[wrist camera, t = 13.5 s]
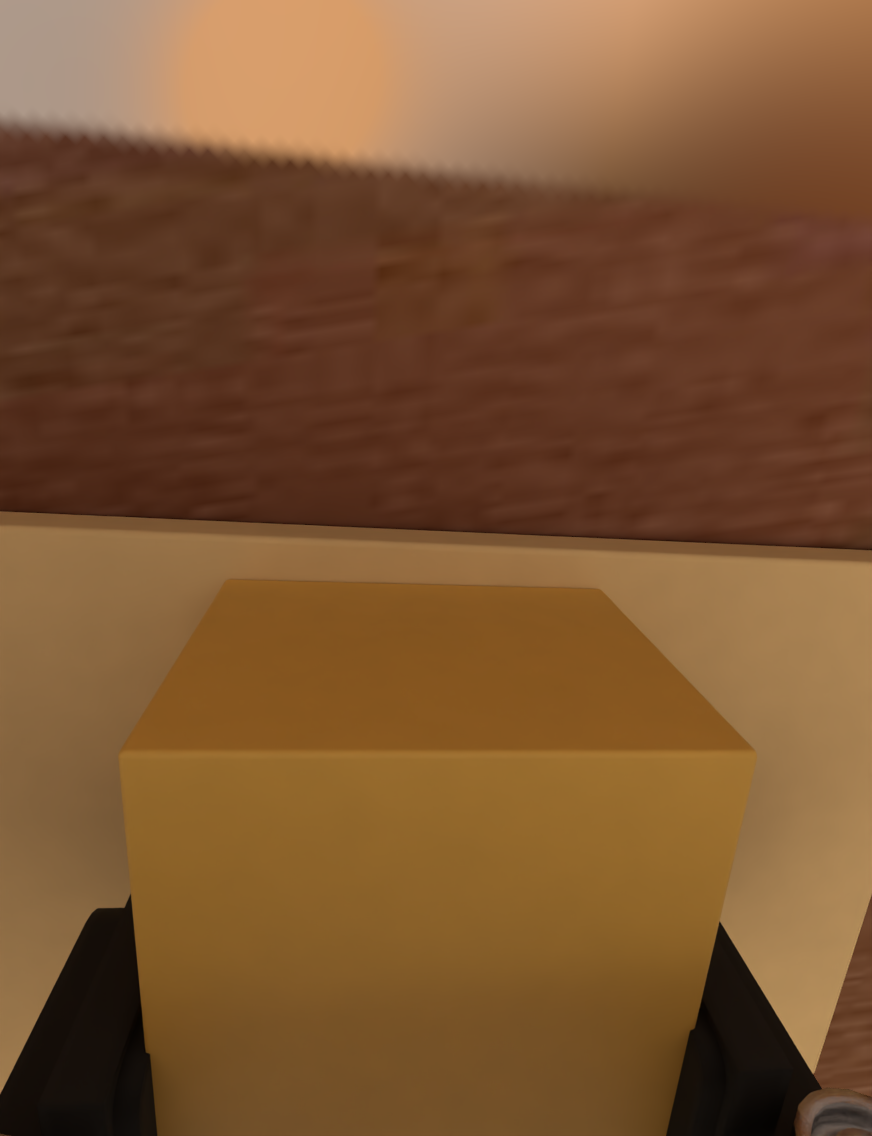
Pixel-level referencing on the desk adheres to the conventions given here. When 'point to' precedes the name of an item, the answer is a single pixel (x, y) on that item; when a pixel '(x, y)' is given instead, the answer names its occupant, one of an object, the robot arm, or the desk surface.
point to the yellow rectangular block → (424, 864)
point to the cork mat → (397, 556)
